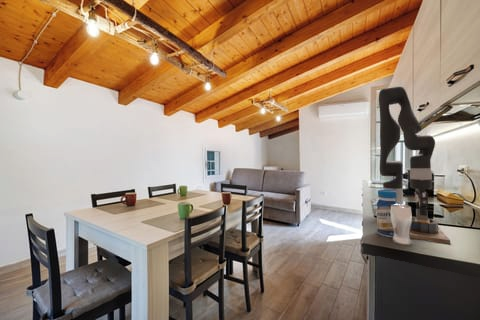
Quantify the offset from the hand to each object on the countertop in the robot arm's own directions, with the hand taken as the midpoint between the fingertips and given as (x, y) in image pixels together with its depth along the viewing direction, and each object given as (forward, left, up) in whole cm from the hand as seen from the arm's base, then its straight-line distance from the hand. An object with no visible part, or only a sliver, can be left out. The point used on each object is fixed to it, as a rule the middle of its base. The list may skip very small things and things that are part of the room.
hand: (421, 213), depth 92 cm
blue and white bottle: (+10, -13, -9) cm, 19 cm away
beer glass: (+18, -9, -9) cm, 22 cm away
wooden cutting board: (0, 0, -9) cm, 9 cm away
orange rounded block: (0, 0, -8) cm, 8 cm away
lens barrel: (0, 0, -8) cm, 8 cm away
